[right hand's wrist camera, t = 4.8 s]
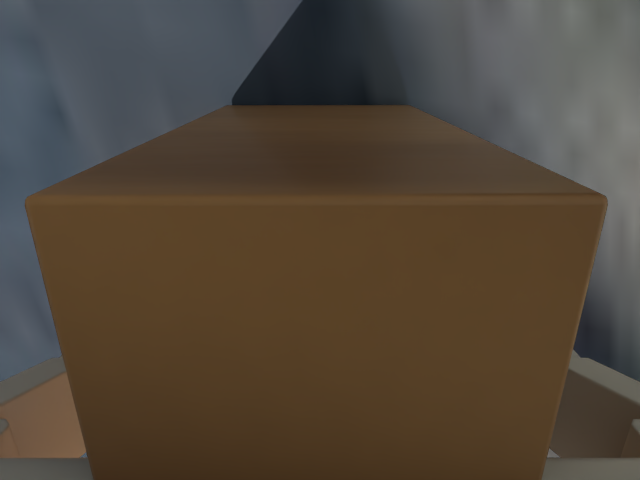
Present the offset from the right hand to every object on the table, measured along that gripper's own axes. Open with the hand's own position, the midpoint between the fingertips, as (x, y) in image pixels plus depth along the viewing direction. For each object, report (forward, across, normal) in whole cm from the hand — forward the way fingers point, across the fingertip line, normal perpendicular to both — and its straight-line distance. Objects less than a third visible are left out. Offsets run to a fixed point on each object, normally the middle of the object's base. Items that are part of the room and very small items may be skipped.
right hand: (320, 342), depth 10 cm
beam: (+4, 0, -26) cm, 27 cm away
